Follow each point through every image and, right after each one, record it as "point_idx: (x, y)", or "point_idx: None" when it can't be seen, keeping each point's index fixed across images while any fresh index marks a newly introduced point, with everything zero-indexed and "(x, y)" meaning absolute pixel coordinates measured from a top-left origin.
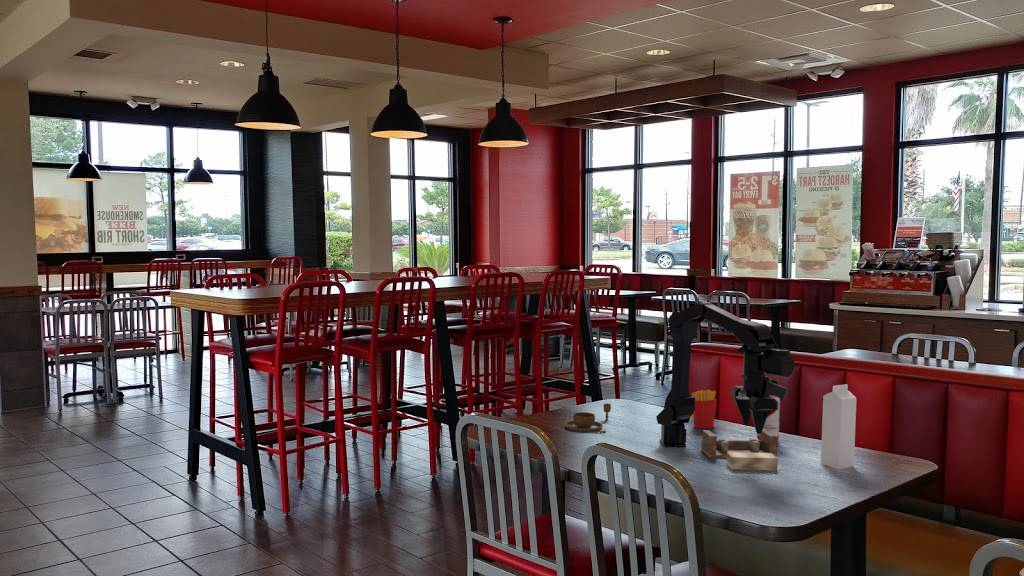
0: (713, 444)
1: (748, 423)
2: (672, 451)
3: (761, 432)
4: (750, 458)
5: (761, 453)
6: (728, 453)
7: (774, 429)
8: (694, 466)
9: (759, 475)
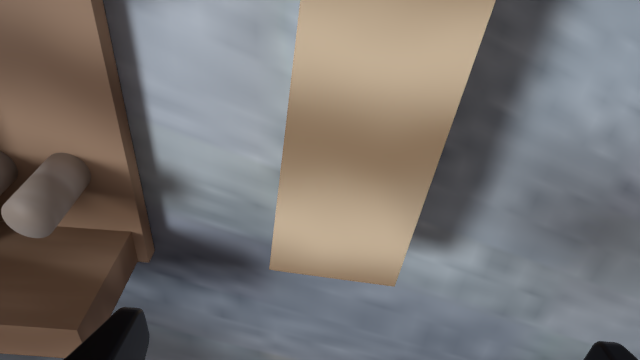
0: (107, 293)
1: (130, 328)
2: None
3: (632, 355)
4: (429, 185)
5: (317, 49)
6: (300, 272)
7: None
8: (313, 345)
9: (549, 133)
